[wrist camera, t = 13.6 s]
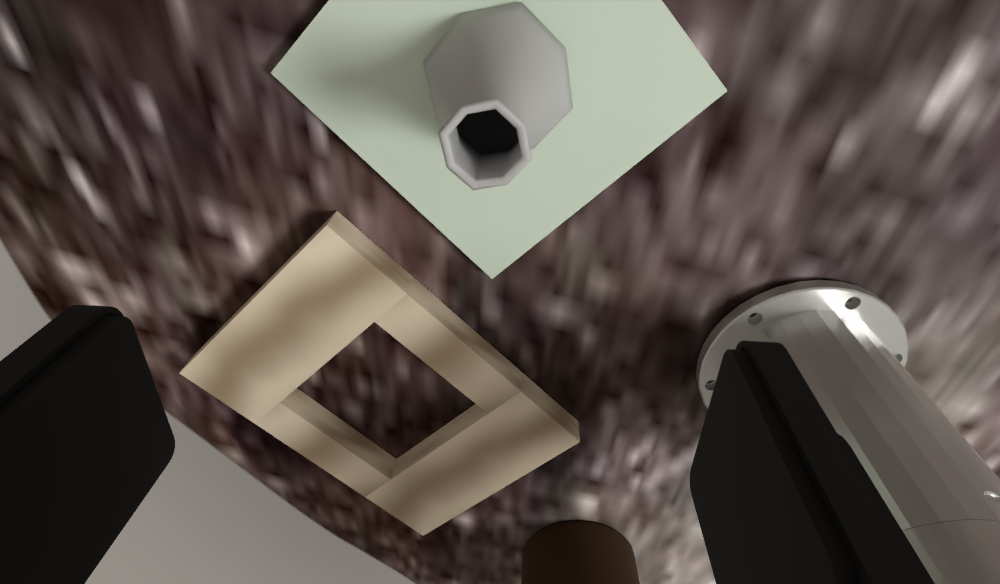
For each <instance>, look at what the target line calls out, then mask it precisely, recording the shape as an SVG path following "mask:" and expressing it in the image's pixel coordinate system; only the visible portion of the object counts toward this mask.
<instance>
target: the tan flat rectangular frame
mask: <svg viewBox="0 0 1000 584" xmlns="http://www.w3.org/2000/svg"><path fill="white" fill-rule="evenodd" d="M374 322H375V323H377V324H378V325H379V326H380V327H381V328H383V329H384V330H385V331H386V332H388V333H389V334H390V335H391V336H393V337H394V338H395V339H396V340H397V341H399V342H400V343H401V344H402V345H404V346H405V347H406V348H407V349H409V350H410V351H411V352H412V353H414V354H415V355H416V356H417V357H418V358H420V359H421V360H422V361H423V362H425V363H426V364H427V365H428V366H430V367H431V368H432V369H433V370H435V371H436V372H437V373H438V374H439V375H441V376H442V377H443V378H444V379H446V380H447V381H448V382H449V383H451V384H452V385H453V386H454V387H455V388H457V389H458V390H459V391H460V392H462V393H463V394H464V395H465V396H467V397H468V398H469V399H470V400H472V401H473V402H474V403H475V405H473V406H472V407H470V408H469V409H467V410H466V411H465V412H463V413H462V414H460V415H459V416H457V417H456V418H454V419H453V420H452V421H450V422H449V423H447V424H446V425H444V426H443V427H442V428H440V429H439V430H437V431H436V432H434V433H433V434H431V435H430V436H429V437H427V438H426V439H424V440H423V441H421V442H420V443H418V444H417V445H416V446H414V447H413V448H411V449H410V450H408V451H407V452H405V453H404V454H403V455H401V456H400V457H398V458H397V459H396V458H394V457H393V456H392V455H390V454H389V453H387V452H386V451H385V450H383V449H382V448H380V447H379V446H378V445H376V444H375V443H373V442H372V441H371V440H369V439H368V438H366V437H365V436H364V435H362V434H361V433H359V432H358V431H357V430H355V429H354V428H352V427H351V426H350V425H348V424H347V423H345V422H344V421H343V420H341V419H340V418H338V417H337V416H336V415H334V414H333V413H331V412H330V411H329V410H327V409H326V408H324V407H323V406H322V405H320V404H319V403H317V402H316V401H315V400H313V399H312V398H310V397H309V396H308V395H306V394H305V393H303V392H302V391H301V390H299V389H298V388H297V387H299V386H300V385H301V384H302V383H303V382H304V381H306V380H307V379H308V378H309V377H310V376H311V375H313V374H314V373H315V372H316V371H317V370H318V369H320V368H321V367H322V366H323V365H324V364H325V363H327V362H328V361H329V360H330V359H331V358H333V357H334V356H335V355H336V354H337V353H338V352H340V351H341V350H342V349H343V348H344V347H345V346H347V345H348V344H349V343H350V342H351V341H352V340H354V339H355V338H356V337H357V336H358V335H359V334H361V333H362V332H363V331H364V330H365V329H367V328H368V327H369V326H370V325H371V324H372V323H374ZM180 374H181V375H183V376H184V377H186V378H187V379H189V380H190V381H192V382H193V383H195V384H196V385H198V386H199V387H201V388H202V389H204V390H205V391H207V392H208V393H210V394H211V395H213V396H214V397H216V398H217V399H219V400H220V401H222V402H223V403H225V404H226V405H228V406H229V407H231V408H232V409H234V410H235V411H237V412H238V413H240V414H241V415H243V416H244V417H246V418H247V419H249V420H250V421H252V422H253V423H255V424H256V425H258V426H259V427H261V428H262V429H264V430H265V431H267V432H268V433H270V434H271V435H273V436H274V437H276V438H277V439H279V440H280V441H282V442H283V443H285V444H286V445H288V446H289V447H291V448H292V449H294V450H295V451H297V452H298V453H300V454H301V455H303V456H304V457H306V458H307V459H309V460H310V461H312V462H313V463H315V464H316V465H318V466H319V467H321V468H322V469H324V470H325V471H327V472H328V473H330V474H331V475H333V476H334V477H336V478H337V479H339V480H340V481H342V482H343V483H345V484H346V485H348V486H349V487H351V488H352V489H354V490H355V491H357V492H358V493H360V494H361V495H363V496H364V497H366V498H367V499H369V500H370V501H372V502H373V503H375V504H376V505H378V506H379V507H381V508H382V509H384V510H385V511H387V512H388V513H390V514H391V515H393V516H394V517H396V518H397V519H399V520H400V521H402V522H403V523H405V524H406V525H408V526H409V527H411V528H412V529H414V530H415V531H417V532H418V533H420V534H421V535H423V536H424V535H425V534H427V533H429V532H430V531H432V530H434V529H435V528H437V527H439V526H440V525H442V524H444V523H445V522H447V521H449V520H450V519H452V518H454V517H455V516H457V515H459V514H460V513H462V512H464V511H465V510H467V509H469V508H470V507H472V506H474V505H475V504H477V503H479V502H480V501H482V500H484V499H485V498H487V497H489V496H490V495H492V494H494V493H495V492H497V491H499V490H500V489H502V488H504V487H506V486H507V485H509V484H511V483H512V482H514V481H516V480H517V479H519V478H521V477H522V476H524V475H526V474H527V473H529V472H531V471H532V470H534V469H536V468H537V467H539V466H541V465H542V464H544V463H546V462H547V461H549V460H551V459H552V458H554V457H556V456H557V455H559V454H561V453H562V452H564V451H566V450H567V449H569V448H571V447H572V446H574V445H576V444H577V443H579V442H580V436H579V425H578V421H577V420H576V419H575V418H574V417H573V416H572V415H571V414H569V413H568V412H567V411H566V410H565V409H564V408H563V407H561V406H560V405H559V404H558V403H557V402H556V401H555V400H553V399H552V398H551V397H550V396H549V395H548V394H546V393H545V392H544V391H543V390H542V389H541V388H540V387H538V386H537V385H536V384H535V383H534V382H533V381H532V380H530V379H529V378H528V377H527V376H526V375H525V374H524V373H522V372H521V371H520V370H519V369H518V368H517V367H516V366H514V365H513V364H512V363H511V362H510V361H509V360H508V359H506V358H505V357H504V356H503V355H502V354H501V353H499V352H498V351H497V350H496V349H495V348H494V347H493V346H491V345H490V344H489V343H488V342H487V341H486V340H485V339H483V338H482V337H481V336H480V335H479V334H478V333H477V332H475V331H474V330H473V329H472V328H471V327H470V326H469V325H467V324H466V323H465V322H464V321H463V320H462V319H461V318H459V317H458V316H457V315H456V314H455V313H454V312H453V311H451V310H450V309H449V308H448V307H447V306H446V305H444V304H443V303H442V302H441V301H440V300H439V299H438V298H436V297H435V296H434V295H433V294H432V293H431V292H430V291H428V290H427V289H426V288H425V287H424V286H423V285H422V284H420V283H419V282H418V281H417V280H416V279H415V278H414V277H412V276H411V275H410V274H409V273H408V272H407V271H406V270H404V269H403V268H402V267H401V266H400V265H399V264H397V263H396V262H395V261H394V260H393V259H392V258H391V257H389V256H388V255H387V254H386V253H385V252H384V251H383V250H381V249H380V248H379V247H378V246H377V245H376V244H375V243H373V242H372V241H371V240H370V239H369V238H368V237H367V236H365V235H364V234H363V233H362V232H361V231H360V230H359V229H357V228H356V227H355V226H354V225H353V224H352V223H350V222H349V221H348V220H347V219H346V218H345V217H344V216H342V215H341V214H340V213H339V212H338V211H336V212H335V213H334V214H333V215H332V216H331V217H330V218H329V219H328V220H327V221H326V222H325V223H324V224H323V225H322V226H321V227H320V228H319V229H318V230H317V231H316V232H315V233H314V234H313V235H312V236H311V237H310V238H309V239H308V240H307V241H306V242H305V243H304V244H303V245H302V246H301V247H300V248H299V249H298V250H297V251H296V252H295V253H294V254H293V255H292V256H291V257H290V258H289V259H288V260H287V261H286V262H285V263H284V264H283V265H282V266H281V268H280V269H279V270H278V271H277V272H276V273H275V274H274V275H273V276H272V277H271V278H270V279H269V280H268V281H267V282H266V283H265V284H264V285H263V286H262V287H261V288H260V289H259V290H258V291H257V292H256V293H255V294H254V295H253V296H252V297H251V298H250V299H249V300H248V301H247V302H246V303H245V304H244V305H243V306H242V307H241V308H240V309H239V310H238V311H237V312H236V313H235V314H234V315H233V316H232V317H231V318H230V319H229V320H228V321H227V322H226V323H225V324H224V325H223V326H222V327H221V328H220V329H219V330H218V331H217V332H216V333H215V334H214V335H213V336H212V337H211V338H210V339H209V340H208V341H207V342H206V343H205V344H204V345H203V346H202V347H201V348H200V349H199V350H198V351H197V352H196V353H195V354H194V355H193V357H192V358H191V359H190V360H189V362H188V363H187V364H186V365H185V367H184V368H183V369H182V370H181V372H180Z"/></svg>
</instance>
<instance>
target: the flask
mask: <svg viewBox="0 0 1000 584" xmlns="http://www.w3.org/2000/svg"><path fill="white" fill-rule="evenodd" d="M423 65H424V69H425V73H426V77H427V81H428V85H429V89H430V94H431V98H432V102H433V106H434V110H435V114H436V118H437V121H438V122H439V123H440V124H441V125H443V127H442V128H441V129H440V130H439V132H438V135H439V139H440V143H441V147H442V151H443V155H444V159H445V163H446V167H447V168H448V169H449V170H450V171H451V172H452V173H453V174H455V175H456V176H457V177H458V178H459V179H460V180H462V181H463V182H464V183H465V184H466V185H467V186H468V187H470V188H471V189H472V190H479V189H485V188H491V187H497V186H504V185H507V184H508V183H509V182H510V181H511V180H512V179H513V178H514V177H515V176H516V175H517V174H518V173H519V172H520V171H521V170H522V169H523V168H524V167H525V166H526V165H527V164H528V163H529V162H530V161H531V159H532V157H531V151H530V149H534V147H535V146H536V145H537V144H538V143H539V142H540V141H541V140H542V139H543V138H544V137H545V136H546V135H547V134H548V133H549V132H550V131H551V130H552V129H553V128H554V127H555V126H556V125H557V124H558V123H559V122H560V121H561V120H562V119H563V118H564V117H565V116H566V115H567V114H568V113H569V112H570V111H571V110H572V109H573V103H572V95H571V87H570V79H569V70H568V62H567V54H566V47H565V46H564V45H563V44H562V43H561V42H560V41H559V40H558V39H557V38H556V37H555V36H554V35H553V34H552V33H551V32H550V31H549V30H548V29H547V27H546V26H545V25H544V24H543V23H542V22H541V21H540V20H539V19H538V18H537V17H536V16H535V15H534V14H533V13H532V12H531V11H530V10H529V9H528V8H527V7H526V6H525V5H524V4H523V3H522V2H519V3H514V4H509V5H504V6H499V7H494V8H489V9H484V10H480V11H475V12H470V13H465V14H461V15H460V16H459V17H458V19H457V20H456V21H455V22H454V24H453V25H452V26H451V27H450V29H449V30H448V31H447V32H446V34H445V35H444V36H443V37H442V39H441V40H440V41H439V43H438V44H437V45H436V46H435V48H434V49H433V50H432V51H431V53H430V54H429V55H428V56H427V58H426V59H425V60H424V61H423Z"/></svg>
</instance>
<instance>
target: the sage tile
mask: <svg viewBox="0 0 1000 584" xmlns="http://www.w3.org/2000/svg"><path fill="white" fill-rule="evenodd" d="M519 2H522V3H523V4H524V5H525V6H526V7H527V8H528V9H529V10H530V11H531V12H532V13H533V14H534V15H535V16H536V17H537V18H538V19H539V20H540V21H541V22H542V23H543V24H544V25H545V26H546V27H547V29H548V30H549V31H550V32H551V33H552V34H553V35H554V36H555V37H556V38H557V39H558V40H559V41H560V42H561V43H562V44H563V45H564V46H565V47H566V54H567V62H568V70H569V79H570V87H571V95H572V103H573V109H572V110H571V111H570V112H569V113H568V114H567V115H566V116H565V117H564V118H563V119H562V120H561V121H560V122H559V123H558V124H557V125H556V126H555V127H554V128H553V129H552V130H551V131H550V132H549V133H548V134H547V135H546V136H545V137H544V138H543V139H542V140H541V141H540V142H539V143H538V144H537V145H536V146H535V147H534V149H530V151H531V157H532V159H531V161H530V162H529V163H528V164H527V165H526V166H525V167H524V168H523V169H522V170H521V171H520V172H519V173H518V174H517V175H516V176H515V177H514V178H513V179H512V180H511V181H510V182H509V183H508V184H507V185H504V186H497V187H491V188H485V189H479V190H472V189H471V188H470V187H468V186H467V185H466V184H465V183H464V182H463V181H462V180H460V179H459V178H458V177H457V176H456V175H455V174H453V173H452V172H451V171H450V170H449V169H448V168H447V167H446V163H445V159H444V155H443V151H442V147H441V143H440V139H439V135H438V132H439V130H440V129H441V128H442V127H443V125H441V124H440V123H439V122H438V121H437V118H436V114H435V110H434V106H433V102H432V98H431V94H430V89H429V85H428V81H427V77H426V73H425V69H424V65H423V61H424V60H425V59H426V58H427V56H428V55H429V54H430V53H431V51H432V50H433V49H434V48H435V46H436V45H437V44H438V43H439V41H440V40H441V39H442V37H443V36H444V35H445V34H446V32H447V31H448V30H449V29H450V27H451V26H452V25H453V24H454V22H455V21H456V20H457V19H458V17H459V16H460V15H461V14H465V13H470V12H475V11H480V10H484V9H489V8H494V7H499V6H504V5H509V4H514V3H519ZM271 74H272V75H273V76H274V77H275V78H276V79H277V80H278V81H280V82H281V83H282V84H283V85H284V86H285V87H286V88H287V89H288V90H289V91H290V92H291V93H292V94H294V95H295V96H296V97H297V98H298V99H299V100H300V101H301V102H302V103H303V104H304V105H305V106H306V107H307V108H309V109H310V110H311V111H312V112H313V113H314V114H315V115H316V116H317V117H318V118H319V119H320V120H321V121H323V122H324V123H325V124H326V125H327V126H328V127H329V128H330V129H331V130H332V131H333V132H334V133H335V134H337V135H338V136H339V137H340V138H341V139H342V140H343V141H344V142H345V143H346V144H347V145H348V146H349V147H350V148H352V149H353V150H354V151H355V152H356V153H357V154H358V155H359V156H360V157H361V158H362V159H363V160H364V161H366V162H367V163H368V164H369V165H370V166H371V167H372V168H373V169H374V170H375V171H376V172H377V173H378V174H379V175H381V176H382V177H383V178H384V179H385V180H386V181H387V182H388V183H389V184H390V185H391V186H392V187H393V188H395V189H396V190H397V191H398V192H399V193H400V194H401V195H402V196H403V197H404V198H405V199H406V200H407V201H408V202H410V203H411V204H412V205H413V206H414V207H415V208H416V209H417V210H418V211H419V212H420V213H421V214H422V215H424V216H425V217H426V218H427V219H428V220H429V221H430V222H431V223H432V224H433V225H434V226H435V227H436V228H438V229H439V230H440V231H441V232H442V233H443V234H444V235H445V236H446V237H447V238H448V239H449V240H450V241H451V242H453V243H454V244H455V245H456V246H457V247H458V248H459V249H460V250H461V251H462V252H463V253H464V254H465V255H467V256H468V257H469V258H470V259H471V260H472V261H473V262H474V263H475V264H476V265H477V266H478V267H479V268H480V269H482V270H483V271H484V272H485V273H486V274H487V275H488V276H489V277H490V278H491V279H493V278H494V277H495V276H497V275H498V274H499V273H500V272H502V271H503V270H504V269H505V268H507V267H508V266H509V265H510V264H512V263H513V262H514V261H515V260H517V259H518V258H519V257H520V256H522V255H523V254H524V253H525V252H527V251H528V250H529V249H530V248H532V247H533V246H534V245H535V244H537V243H538V242H539V241H540V240H542V239H543V238H544V237H545V236H547V235H548V234H549V233H550V232H552V231H553V230H554V229H555V228H557V227H558V226H559V225H560V224H562V223H563V222H564V221H565V220H567V219H568V218H569V217H570V216H572V215H573V214H574V213H575V212H577V211H578V210H579V209H580V208H582V207H583V206H584V205H585V204H587V203H588V202H589V201H590V200H592V199H593V198H594V197H595V196H597V195H598V194H599V193H600V192H602V191H603V190H604V189H605V188H607V187H608V186H609V185H610V184H612V183H613V182H614V181H615V180H617V179H618V178H619V177H620V176H622V175H623V174H624V173H625V172H627V171H628V170H629V169H630V168H632V167H633V166H634V165H635V164H637V163H638V162H639V161H640V160H642V159H643V158H644V157H645V156H647V155H648V154H649V153H650V152H652V151H653V150H654V149H655V148H657V147H658V146H659V145H660V144H662V143H663V142H664V141H665V140H667V139H668V138H669V137H670V136H672V135H673V134H674V133H675V132H677V131H678V130H679V129H680V128H682V127H683V126H684V125H685V124H687V123H688V122H689V121H690V120H692V119H693V118H694V117H695V116H697V115H698V114H699V113H700V112H702V111H703V110H704V109H705V108H707V107H708V106H709V105H710V104H712V103H713V102H714V101H715V100H717V99H718V98H719V97H720V96H722V95H723V94H724V93H725V92H727V90H726V88H725V87H724V85H723V84H722V83H721V81H720V80H719V79H718V77H717V76H716V74H715V73H714V72H713V70H712V69H711V68H710V66H709V65H708V63H707V62H706V61H705V59H704V58H703V57H702V55H701V54H700V52H699V51H698V50H697V48H696V47H695V46H694V44H693V43H692V41H691V40H690V39H689V37H688V36H687V34H686V33H685V32H684V30H683V29H682V28H681V26H680V25H679V23H678V22H677V21H676V19H675V18H674V17H673V15H672V14H671V12H670V11H669V10H668V8H667V7H666V6H665V4H664V3H663V1H662V0H329V1H328V2H327V3H326V4H325V6H324V7H323V8H322V9H321V11H320V12H319V13H318V14H317V16H316V17H315V18H314V19H313V21H312V22H311V23H310V24H309V26H308V27H307V28H306V29H305V31H304V32H303V33H302V34H301V36H300V37H299V38H298V39H297V41H296V42H295V43H294V44H293V46H292V47H291V48H290V49H289V51H288V52H287V53H286V54H285V56H284V57H283V58H282V59H281V61H280V62H279V63H278V64H277V66H276V67H275V68H274V69H273V71H272V72H271Z"/></svg>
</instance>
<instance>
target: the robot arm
mask: <svg viewBox="0 0 1000 584" xmlns="http://www.w3.org/2000/svg"><path fill="white" fill-rule="evenodd" d="M908 346H909V344H908V339H907V334H906V330H905V328H904V326H903V324H902V322H901V320H900V318H899V317H898V316H897V315H896V313H895V312H894V311H893V310H892V309H891V308H890V307H889V306H888V304H887V303H885V302H884V301H883V300H882V299H880V298H879V297H878V296H877V295H875V294H874V293H872V292H870V291H868V290H866V289H864V288H862V287H860V286H857V285H853V284H849V283H845V282H841V281H829V280H812V281H801V282H795V283H791V284H787V285H783V286H778V287H775V288H773V289H770V290H768V291H765V292H763V293H760V294H758V295H756V296H754V297H752V298H751V299H749V300H747V301H746V302H744V303H742V304H740V305H739V306H738V307H736V308H735V309H734V310H733V311H731V312H730V313H729V314H728V315H726V316H725V317H724V318H723V319H722V320H721V321H720V322H719V323H718V325H717V326H716V327H715V328H714V329H713V330H712V331H711V333H710V334H709V336H708V338H707V339H706V341H705V343H704V344H703V346H702V349H701V352H700V354H699V357H698V360H697V369H696V379H697V386H698V390H699V392H700V395H701V398H702V401H703V403H704V405H705V407H706V408H707V410H708V411H707V414H706V418H705V421H704V425H703V428H702V432H701V435H700V439H699V442H698V446H697V449H696V453H695V456H694V460H693V463H692V467H691V471H690V489H691V494H692V498H693V501H694V505H695V509H696V512H697V516H698V519H699V523H700V527H701V530H702V534H703V537H704V541H705V545H706V548H707V552H708V555H709V559H710V563H711V566H712V570H713V574H714V577H715V581H716V584H1000V479H999V478H998V477H997V476H996V475H995V473H994V472H993V471H992V470H991V469H990V467H989V466H988V465H987V464H986V463H985V462H984V460H983V459H982V458H981V457H980V456H979V455H978V453H977V452H976V451H975V450H974V449H973V448H972V446H971V445H970V444H969V443H968V442H967V440H966V439H965V438H964V437H963V436H962V435H961V433H960V432H959V431H958V430H957V429H956V428H955V426H954V425H953V424H952V423H951V422H950V421H949V419H948V418H947V417H946V416H945V415H944V413H943V412H942V411H941V410H940V409H939V408H938V406H937V405H936V404H935V403H934V402H933V401H932V399H931V398H930V397H929V396H928V395H927V394H926V392H925V391H924V390H923V389H922V388H921V386H920V385H919V384H918V383H917V382H916V381H915V379H914V378H913V377H912V376H911V375H910V374H909V372H908V371H907V370H906V369H905V365H906V363H907V358H908ZM174 448H175V439H174V436H173V433H172V430H171V427H170V425H169V422H168V419H167V416H166V414H165V411H164V408H163V405H162V403H161V400H160V397H159V394H158V392H157V389H156V386H155V383H154V381H153V378H152V375H151V373H150V370H149V367H148V364H147V362H146V359H145V356H144V353H143V351H142V348H141V345H140V342H139V340H138V337H137V334H136V331H135V329H134V326H133V324H132V322H131V320H129V319H128V318H127V317H124V316H123V314H122V313H121V312H120V311H119V310H118V309H117V308H114V307H107V306H88V305H75V306H71V307H69V308H67V309H66V310H64V311H63V312H62V313H61V314H59V315H58V316H57V317H56V318H54V319H53V320H52V321H51V322H49V323H48V324H47V325H46V326H44V327H43V328H42V329H41V330H39V331H38V332H37V333H35V334H34V335H33V336H32V337H30V338H29V339H28V340H27V341H25V342H24V343H23V344H22V345H20V346H19V347H18V348H17V349H15V350H14V351H13V352H11V353H10V354H9V355H8V356H7V357H5V358H4V359H3V360H1V361H0V584H84V583H85V582H86V580H87V579H88V577H89V576H90V575H91V573H92V572H93V571H94V569H95V568H96V566H97V565H98V563H99V562H100V561H101V559H102V558H103V556H104V555H105V553H106V552H107V551H108V549H109V548H110V546H111V545H112V543H113V542H114V540H115V539H116V538H117V536H118V535H119V533H120V532H121V531H122V529H123V528H124V526H125V525H126V523H127V522H128V521H129V519H130V518H131V516H132V515H133V513H134V512H135V511H136V509H137V508H138V506H139V505H140V503H141V502H142V500H143V499H144V497H145V496H146V495H147V493H148V492H149V490H150V489H151V488H152V486H153V485H154V483H155V482H156V480H157V479H158V477H159V476H160V475H161V473H162V472H163V470H164V469H165V468H166V466H167V464H168V463H169V461H170V460H171V458H172V456H173V453H174Z"/></svg>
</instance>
